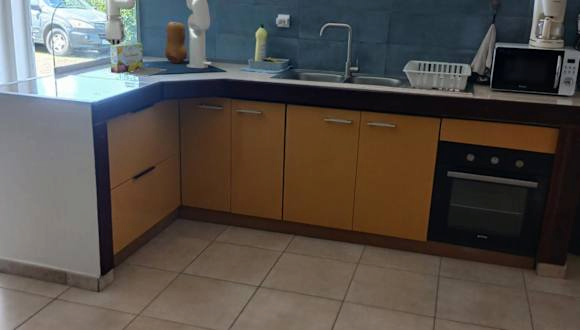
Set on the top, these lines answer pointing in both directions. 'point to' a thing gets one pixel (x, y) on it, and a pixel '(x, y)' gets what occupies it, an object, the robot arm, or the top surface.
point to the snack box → (126, 57)
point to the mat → (146, 72)
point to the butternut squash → (175, 42)
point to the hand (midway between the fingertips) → (115, 51)
